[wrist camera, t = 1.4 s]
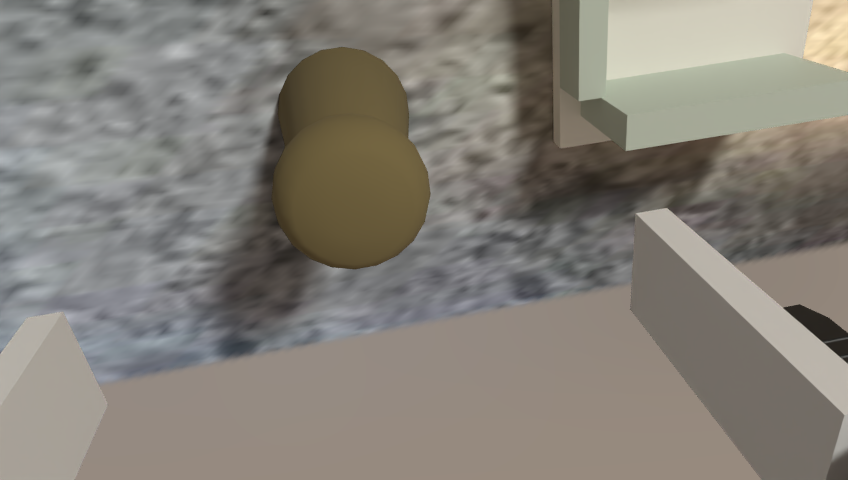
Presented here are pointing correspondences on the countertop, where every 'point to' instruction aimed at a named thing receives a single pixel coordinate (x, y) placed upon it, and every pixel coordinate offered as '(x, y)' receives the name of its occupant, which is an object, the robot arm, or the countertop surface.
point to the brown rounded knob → (348, 161)
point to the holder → (684, 70)
